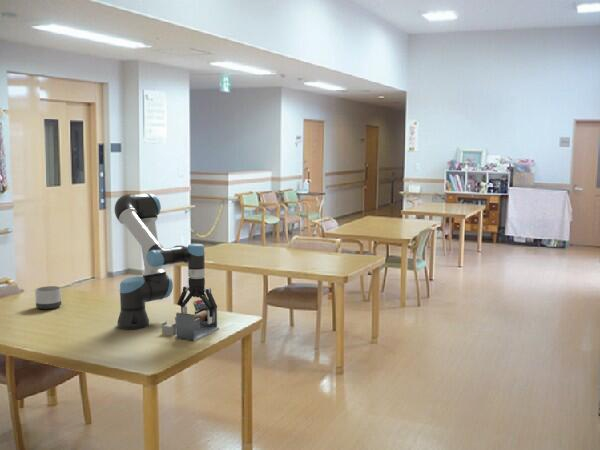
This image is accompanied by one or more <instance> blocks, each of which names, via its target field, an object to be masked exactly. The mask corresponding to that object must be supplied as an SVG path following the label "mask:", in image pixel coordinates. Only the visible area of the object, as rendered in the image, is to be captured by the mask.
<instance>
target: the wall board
mask: <svg viewBox="0 0 600 450" xmlns="http://www.w3.org/2000/svg"><path fill="white" fill-rule="evenodd" d="M218 330H220V326H217V327H209V326H202V325H200V329H199V330H197V331H195V338H194V341H193V342H197V341H200V340H201V339H203V338H205V337H207V336H209V335H210V334H212V333H214V332H216V331H218ZM180 338H182V337H180ZM174 339H177V335H174ZM184 339H185V340H184V341H187V340H186V338H184ZM187 339H188V338H187ZM177 340H178V339H177ZM189 340H190V338H189ZM189 340H188V341H189Z"/></svg>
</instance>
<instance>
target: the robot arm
mask: <svg viewBox="0 0 600 450" xmlns="http://www.w3.org/2000/svg"><path fill="white" fill-rule="evenodd" d="M161 206H162V205H161V202H160V199H159V198H158V196H156V194H153V193H148V192H147V193H146V192H144V193H133V194H129V193H128V194H127V193H126V194H124V195H122V196H120V197H119V198H118V199H117V200H116V202H115V204H114V215H115V217H116V220H118V222H119V223H120V224H122V225H125V227H126V229H127V230H128V231H129V232H130V234H132V236H133V238H134V239H135V240H136V241H137V243H138V244H139V245H140V247H141V254H142V261H143V266H144V268H143V269H144V272H143V274H142V276H140V275H139V276H138V275H137V276H130V277H127V278H124V279H122V281H121V282H120V283H119V296H120V297H119V299H120V300H119V301H120V302H119V303H120V312H119V316H118V318H117V321H116V322H117V325H116V326H117V328H118V329H120V330H128V331H129V330H139V329H144V328H147V327H149V326H150V319H149V316H148V314H147V310H146V303H149V302H154V301H160V300H163V299H167V298H168V297H170V296H171V295H172V292H173V288H174V287H173V286H174V284H173V279H172V278H171V276H170V275H169V274H167V271H166V270H165V269H163V266H168V265H174V264H181V263H186V264H187V268H188V270H187V274H188V277H189V278H187V279H188V281H187V283H188V285H185V286H183V287H182V291H181V294H180V296H179V299H178V301H177V303H176V304H177V306H180V307H181V308H180V313H185V314H188V305H187V304H188V302H189V301H190V300H191V299H192V298H198V299H200V300H203V302H204V303H205V305H206V306H207V307H208V309H209V310H207V313H208V324H210V323H212V316H213V310H214V309H216V308H217V309H218V304H216V300H215V299H214V296H213V294H212V289H211V287H209V288H205V285H206V284H205V283H206V278H205V276H206V273H205V272H206V270H205V254H206V253H205V245H204V244H202V243H190V244H188V246H185V245H174V246H173V247H168V248H164V246H163V245H162V243H160V242H159V239H158V232H157V226H156V221H157V220H158V215H159V214H160V213H161V210H162V207H161ZM188 292H189V293H188ZM187 294H188V295H187Z"/></svg>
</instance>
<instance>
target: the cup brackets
mask: <svg viewBox="0 0 600 450" xmlns="http://www.w3.org/2000/svg"><path fill="white" fill-rule="evenodd" d="M204 310H209V309H208V307H207V306H206V305H205V303H200V310H198V311H194V314H191V313H187V314H185V313H181V312H175V315H176V316H175V317H176V333H177V334H176V336H177V340H183V341H189V342H190V341H191V342H195V341H194V338H195V331H197V330H199V329H200V325H202V326H209V327H218V307H217V308H216V309H214V310H213V316H212V323H210V324H208V319H207V320H205V321H202V322H200V318H197V319H195V320H194V315H195V314H197V313H199V312H201V311H204ZM180 337H182V338H180ZM184 338H186V340H185V339H184ZM187 338H188V339H187ZM189 338H190V340H189Z"/></svg>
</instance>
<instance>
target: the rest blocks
mask: <svg viewBox="0 0 600 450" xmlns="http://www.w3.org/2000/svg"><path fill="white" fill-rule="evenodd" d="M174 320H175V322H174V323H172V324H170V323H167V321H163V322H161V325H160V326H161V334H162V335H166V336H167V335H168V336H176V335H177V328H176V316H175V317H174Z"/></svg>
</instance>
